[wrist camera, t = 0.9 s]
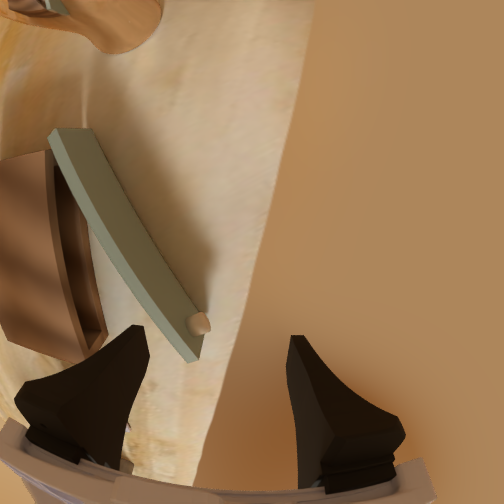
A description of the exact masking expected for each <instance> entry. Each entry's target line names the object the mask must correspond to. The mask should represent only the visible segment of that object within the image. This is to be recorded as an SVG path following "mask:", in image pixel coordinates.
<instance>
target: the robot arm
mask: <svg viewBox="0 0 504 504" xmlns="http://www.w3.org/2000/svg"><path fill="white" fill-rule="evenodd" d="M149 358H150V354H149V349H148V345H147V340H146V336H145V331H144V326H140V325H131V326H130V327H129V328H127V329H126V330H125V331H124V332H122V333H121V334H120V335H119V336H117V337H116V338H115V339H114V340H112V341H111V342H110V343H108V344H107V345H106V346H104V347H103V348H102V349H100V350H99V351H97V352H96V353H95V354H93V355H92V356H90V357H89V358H87V359H85V360H84V361H82V362H80V363H78V364H76V365H74V366H72V367H70V368H68V369H66V370H64V371H61V372H59V373H56V374H53V375H50V376H47V377H44V378H40V379H36V380H31V381H26V382H25V383H24V385H23V386H22V387H21V389H20V390H19V392H18V393H17V395H16V396H15V398H14V401H15V404H16V406H17V408H18V410H19V411H20V412H21V414H22V415H23V416H24V418H25V419H26V420H27V421H28V423H29V424H30V427H29V429H27V428H26V427H25V426H24V425H22V424H20V423H19V422H17V421H15V420H13V419H12V418H8V420H7V421H6V423H5V425H4V426H3V428H2V430H1V431H0V460H1V461H2V462H3V463H5V464H6V465H7V466H8V467H9V468H10V469H11V470H12V471H14V472H15V473H16V474H17V475H19V476H20V477H22V481H23V483H24V485H25V486H26V488H27V490H28V491H29V493H30V494H31V496H32V497H33V499H34V501H35V504H430V503H432V502H433V501H435V500H436V499H437V495H436V493H435V490H434V487H433V484H432V482H431V479H430V476H429V474H428V471H427V469H426V466H425V463H424V461H423V458H417V459H414V460H411V461H408V462H405V463H402V464H399V465H397V466H396V467H394V465H393V462H394V460H395V457H394V455H393V453H394V451H395V450H396V449H397V448H398V447H399V446H400V445H401V443H402V442H403V440H404V439H405V436H406V434H405V431H404V429H403V426H402V424H401V422H400V421H399V418H398V417H397V416H395V415H393V414H390V413H388V412H386V411H384V410H382V409H380V408H378V407H376V406H374V405H373V404H371V403H369V402H368V401H366V400H364V399H363V398H362V397H360V396H359V395H357V394H356V393H355V392H353V391H352V390H351V389H349V388H348V387H347V386H346V385H345V384H344V383H343V382H341V381H340V380H339V379H338V378H337V377H336V376H335V374H333V372H332V371H331V370H330V369H329V368H328V367H327V366H326V364H325V363H324V362H323V361H322V360H321V359H320V357H319V356H318V354H317V353H316V352H315V350H314V349H313V348H312V346H311V345H310V343H309V342H308V340H307V339H306V338H305V336H304V335H291V339H290V345H289V350H288V356H287V362H286V375H287V385H288V390H289V395H290V400H291V405H292V410H293V414H294V420H295V427H296V440H297V457H298V458H297V459H298V489H297V490H281V491H233V490H219V489H207V488H198V487H191V486H184V485H177V484H172V483H166V482H161V481H156V480H151V479H147V478H143V477H139V476H135V475H131V474H127V473H124V472H120V471H119V470H120V460H121V452H122V446H123V440H124V435H125V432H131V429H130V427H129V425H128V423H127V422H128V418H129V414H130V411H131V408H132V405H133V402H134V400H135V398H136V395H137V393H138V390H139V388H140V386H141V383H142V381H143V378H144V376H145V373H146V370H147V366H148V362H149Z"/></svg>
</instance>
